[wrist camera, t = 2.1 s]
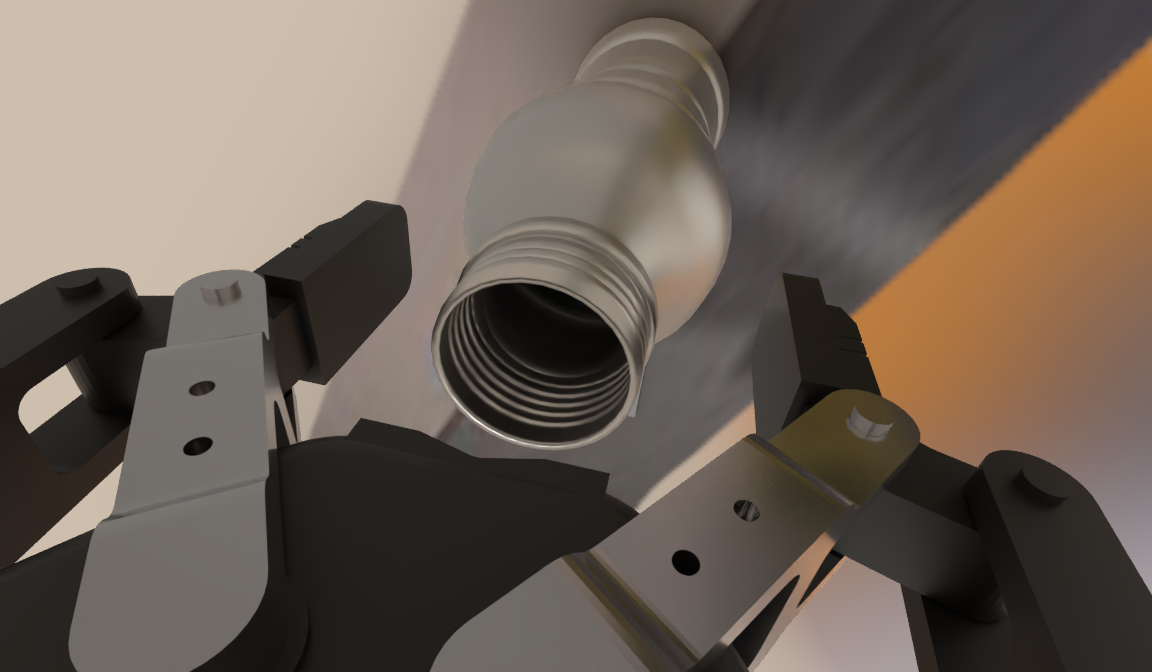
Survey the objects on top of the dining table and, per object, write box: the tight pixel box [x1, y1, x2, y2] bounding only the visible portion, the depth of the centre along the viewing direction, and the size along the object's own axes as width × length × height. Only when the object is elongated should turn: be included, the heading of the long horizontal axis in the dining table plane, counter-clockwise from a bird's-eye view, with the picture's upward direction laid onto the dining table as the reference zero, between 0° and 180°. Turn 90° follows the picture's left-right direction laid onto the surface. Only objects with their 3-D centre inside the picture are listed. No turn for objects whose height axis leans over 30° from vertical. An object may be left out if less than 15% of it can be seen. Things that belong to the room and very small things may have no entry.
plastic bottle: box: [431, 18, 731, 450], centre depth 17 cm, size 6×7×20 cm
